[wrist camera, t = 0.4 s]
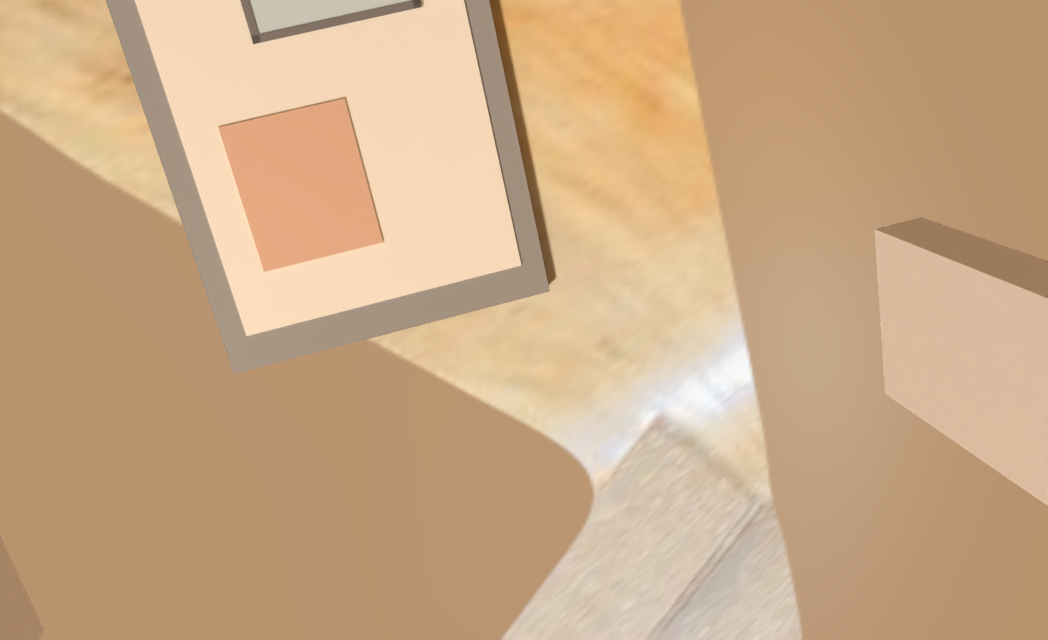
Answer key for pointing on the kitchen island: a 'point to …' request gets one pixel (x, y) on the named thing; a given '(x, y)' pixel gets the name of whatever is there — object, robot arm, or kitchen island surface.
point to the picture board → (336, 163)
